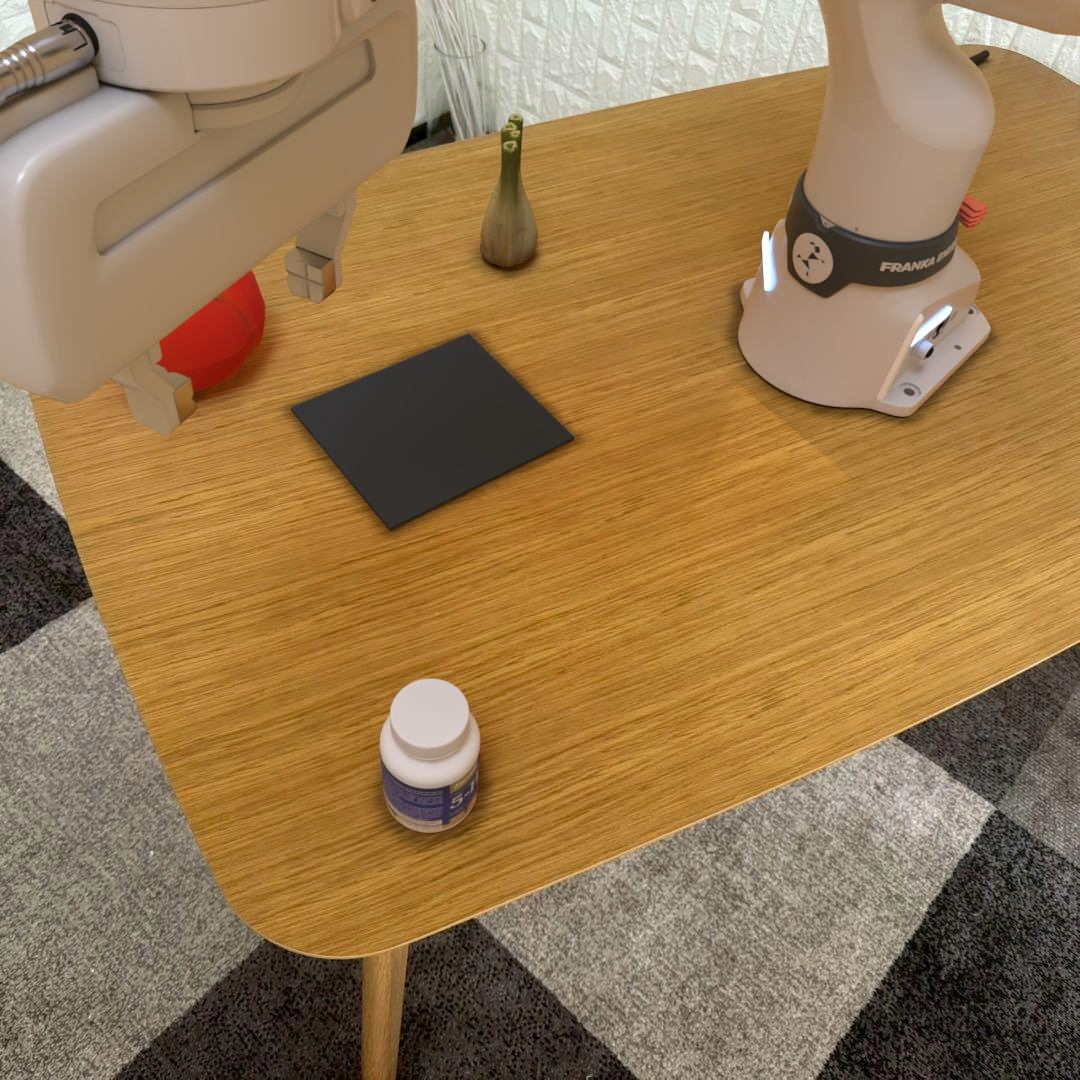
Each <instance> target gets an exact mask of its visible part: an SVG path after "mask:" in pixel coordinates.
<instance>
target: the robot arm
mask: <svg viewBox="0 0 1080 1080" xmlns="http://www.w3.org/2000/svg"><path fill="white" fill-rule="evenodd" d="M27 4H28V7H29V10H30V14H31V19H32V21H33V22H32V23H33V26H34V29H35V32H33V33H31V34H28V35H26V36H24V37H22V38H21V39H19V40H18V41H16V42H14V43H12V44H11V45H9V46H8V47H6V48H4V49H3V50H1V51H0V381H2V382H4V383H6V384H9V385H11V386H13V387H15V388H18V389H20V390H22V391H25V392H28V393H31V394H33V395H35V396H39V397H42V398H45V399H49V400H51V401H56V402H60V403H64V404H78V403H80V402H82V401H84V400H86V399H88V398H89V397H90V396H91V395H93V394H95V392H96V391H98V390H99V389H100V388H101V387H103V386H104V385H105V384H107V383H108V382H109V381H111V380H112V381H113V382H115V383H116V384H117V385H119V386H121V387H123V390H124V393H125V397H126V400H127V401H126V402H127V404H128V407H129V411H130V414H131V416H132V417H133V419H134V420H135V421H136V422H137V423H138V424H139V425H141V426H142V427H145V428H146V429H149V430H151V431H154V432H156V433H158V434H160V435H162V436H167V437H168V436H169V435H172V434H173V433H174V432H175V431H176V430H177V429H178V428H179V427H180V426H182V424H184V422H186V421H187V420H188V419H189V418H191V416H192V415H193V414H195V413H196V411H197V410H198V406H197V402H196V401H195V400H193V398H194V394H195V392H194V391H193V387H192V382H191V378H188V377H186V376H184V375H181V374H179V373H176V372H167V370H166V368H164V367H162V366H160V365H157V364H156V363H157V362H159V361H160V360H161V358H162V352H161V348H160V343H159V341H160V340H162V339H163V338H164V337H166V336H167V335H168V334H169V333H171V332H172V331H173V330H175V329H176V328H177V327H178V326H180V325H181V324H182V323H184V322H185V321H186V320H188V319H189V318H190V317H191V316H193V315H194V314H195V313H197V312H198V311H199V310H200V309H202V308H203V307H204V306H206V305H207V304H208V303H209V302H211V301H212V300H213V299H215V298H216V297H217V296H218V295H220V294H221V293H222V292H224V291H225V290H226V289H227V288H229V287H230V286H231V285H233V284H234V283H235V282H236V281H238V280H239V279H240V278H242V277H243V276H244V275H245V274H247V273H248V272H249V271H252V270H253V269H255V268H256V267H257V266H258V265H260V264H262V262H264V261H265V260H266V259H268V258H269V257H270V256H272V254H274V253H275V252H276V251H277V250H279V249H281V248H282V247H283V246H284V245H286V243H288V242H289V241H290V240H292V239H293V238H294V237H296V238H295V243H294V244H295V246H294V247H293V248H292V249H290V251H288V252H287V253H286V254H285V255H284V256H283V258H284V266H285V267H284V268H285V271H286V272H287V273H288V274H287V276H286V277H287V278H286V283H287V287H288V289H289V291H290V292H291V293H292V294H293V295H295V296H296V297H299V298H301V299H307V298H308V300H309V301H310V302H312V303H315V304H320V303H323V301H324V300H326V299H327V298H328V297H330V296H331V295H333V293H335V291H336V290H338V289H339V288H340V287H341V286H343V285H342V284H343V283H344V279H343V267H342V266H343V265H342V252H343V251H344V248H345V244H346V241H347V238H348V235H349V231H350V228H351V224H352V221H353V218H354V215H355V211H356V207H357V188H359V187H360V186H361V185H362V184H364V183H365V182H367V181H368V180H369V179H370V178H371V177H373V176H374V175H376V174H377V172H379V171H380V170H382V169H383V168H384V167H386V166H387V165H389V163H390V162H392V161H394V160H395V159H396V158H397V157H398V158H399V156H400V155H402V153H403V152H404V149H405V147H406V145H407V143H408V141H409V138H410V135H411V132H412V129H413V126H414V123H415V120H416V113H417V103H418V79H419V19H418V18H419V17H418V7H417V2H416V0H27ZM817 4H818V7H819V9H820V13H821V17H822V21H823V25H824V31H825V37H826V44H827V56H828V57H827V58H828V68H827V83H826V90H825V95H824V100H823V106H822V109H821V115H820V118H819V119H820V120H819V124H818V128H817V132H816V136H815V140H814V144H813V148H812V152H811V156H810V158H809V162H808V166H807V168H806V169H804V171H802V173H801V174H800V176H799V178H798V179H797V183H796V185H795V187H794V188H793V191H792V194H791V196H790V198H789V202H788V210H787V213H786V216H785V218H781V219H780V220H778V222H777V223H776V225H775V226H774V229H773V232H772V234H771V236H769V231H764V232H763V235H762V240H761V246H762V247H761V248H762V259H761V262H760V265H759V267H758V269H757V272H756V275H755V277H751V278H748V279H746V280H745V281H744V282H743V283H742V286H741V289H740V291H739V298H740V303H741V306H742V309H743V313H742V317H741V319H740V322H739V325H738V329H737V341H738V345H739V348H740V351H741V354H742V355H743V357H744V359H745V360H746V362H747V363H748V364H749V366H750V367H751V368H752V369H753V371H755V372H756V373H757V374H758V375H759V376H760V377H761V378H763V379H764V380H765V381H767V382H768V383H769V384H771V385H772V386H774V387H775V388H777V389H778V390H780V391H782V392H784V393H786V394H789V395H790V396H793V397H796V398H798V399H800V400H803V401H807V402H809V403H814V404H817V405H821V406H828V407H835V408H861V409H870V410H873V411H877V412H880V413H883V414H887V415H890V416H895V417H901V418H902V417H904V418H905V417H906V418H907V417H910V416H912V415H913V414H914V413H915V412H916V411H917V410H919V408H921V406H922V405H923V404H924V403H925V402H926V401H928V400H929V398H930V397H932V395H933V394H934V393H935V392H937V391H938V389H940V388H941V386H943V384H944V383H946V381H948V379H949V378H950V377H952V376H953V375H954V373H955V372H956V371H957V370H958V369H960V367H961V366H963V364H965V362H966V361H967V360H968V359H969V358H971V356H972V355H974V353H976V351H978V350H979V348H980V347H981V346H982V345H983V344H984V343H985V342H986V341H987V339H988V338H989V336H990V333H991V331H992V328H991V325H990V323H989V321H988V319H987V318H986V316H985V315H984V314H983V312H982V311H981V310H980V309H979V308H978V306H977V305H976V304H975V303H974V301H975V299H976V297H977V295H978V292H979V289H980V287H981V283H982V275H981V273H980V270H979V268H978V265H977V264H976V262H975V261H974V259H972V257H970V256H969V254H968V253H967V252H966V251H965V250H964V249H963V248H962V247H961V246H960V245H959V244H958V233H959V227H960V223H961V224H962V225H963V226H964V228H967V230H972V229H974V228H976V227H977V226H978V225H980V222H982V221H983V219H984V218H985V216H986V215H987V211H988V204H987V203H985V202H983V201H981V200H978V199H975V198H974V197H973V196H972V195H971V193H967V192H968V190H969V188H970V186H971V184H972V181H973V179H974V177H975V175H976V172H977V170H978V169H979V168H978V167H979V165H980V163H981V161H982V159H983V157H984V154H985V152H986V150H987V148H988V145H989V143H990V141H991V139H992V136H993V134H994V130H995V124H996V106H995V102H994V98H993V95H992V92H991V89H990V86H989V84H988V81H987V80H986V78H985V75H984V74H983V73H982V71H981V70H980V69H979V67H978V66H977V64H979V63H981V62H983V61H985V60H987V59H988V58H989V57H990V55H991V54H990V51H989V50H988V49H984V50H983V51H980V52H979V53H977V54H974V55H973V56H970V57H969V56H967V54H966V53H965V52H964V51H963V50H962V49H961V48H960V47H959V46H958V44H957V43H956V42H955V40H954V39H953V37H952V35H951V33H950V31H949V28H948V27H947V24H946V21H945V17H944V12H943V5H947V4H949V5H953V6H956V7H958V8H963V9H966V10H969V11H973V12H976V13H980V14H983V15H986V16H989V17H993V18H997V19H1001V20H1003V21H1007V22H1011V23H1013V24H1018V25H1022V26H1025V27H1027V28H1032V29H1035V30H1037V31H1041V32H1045V33H1048V34H1052V35H1062V36H1073V37H1080V0H817ZM769 237H770V238H769Z"/></svg>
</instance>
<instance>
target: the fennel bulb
mask: <svg viewBox="0 0 1080 1080" xmlns="http://www.w3.org/2000/svg"><path fill="white" fill-rule="evenodd" d="M507 119H508V120H507V123H505V124H504V125H503V126H502V128H501V129H500V150H501V151H500V153H501V155H500V157H501V158H500V159H501V160H500V163H501V164H500V173H499V176H498V179H497V182H496V185H495V187H494V188H493V192H492V194H491V196H490V199H489V201H488V205H487V207H486V211H485V213H484V217H483V221H482V224H481V228H480V237H479V238H480V244H479V251H480V253H481V255H482V257H483V259H485V260H486V261H487V262H489V263H490V264H492V265H497V266H498V267H502V268H512V267H515V266H518V265H520V264H522V263H525V262H527V261H528V260H529V259H530V258H532V257H533V255H534V253H535V250H536V248H537V245H538V237H539V236H538V228H537V223H536V219H535V216H534V213H533V209H532V207H531V203H530V200H529V198H528V195H527V193H526V190H525V187H524V183H523V180H522V171H521V169H522V168H521V161H522V144H523V143H522V142H523V131H524V129H523V128H524V116H522V114H520V113H512V114H511V115H510V116H509V117H508V118H507Z"/></svg>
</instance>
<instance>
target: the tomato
mask: <svg viewBox="0 0 1080 1080" xmlns="http://www.w3.org/2000/svg"><path fill="white" fill-rule="evenodd" d="M265 325H266V302H265V300H264V297H263V294H262V291H261V289H260V286H259V284H258V281H257V278H256V275H255V273H254V272H253V271H252V270H251V271H249V272H248V273H247V274H245V275H244V276H243V277H242V278H240V279H239V280H238V281H236V282H235V283H234V284H233V285H231V286H230V287H229V288H227V289H226V290H225V291H224V292H222V293H221V294H220V295H218V296H217V297H216V298H215V299H213V300H212V301H211V302H209V303H208V304H207V305H206V306H204V307H203V308H202V309H200V310H199V311H198V312H197V313H195V314H194V315H193V316H191V317H190V318H189V319H188V320H186V321H185V322H184V323H182V324H181V325H180V326H178V327H177V328H176V329H175V330H173V331H172V332H171V333H169V334H168V335H167V336H166V337H164V338H163V339H162V340H160V341H159V343H160V348H161V352H162V358H161V360H160V361H159V362H157V363H156V364H157V365H160V366H162V367H164V368H166V370H167V372H176V373H179V374H181V375H184V376H186V377H188V378H191V382H192V387H193V391H194V393H195V392H202V391H205V390H207V389H210V388H212V387H215V386H217V385H221V383H223V382H225V381H227V380H228V379H230V378H231V377H233V376H234V375H236V374H237V373H238V372H240V371H241V369H243V368H242V367H243V366H244V364H245V362H246V361H247V359H248V358H249V357H250V355H251V354H252V353H253V352H254V351H255V350H256V349H257V348H258V347H259V346H260V345H261V342H262V340H263V337H264V333H265Z"/></svg>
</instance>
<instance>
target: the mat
mask: <svg viewBox="0 0 1080 1080" xmlns="http://www.w3.org/2000/svg"><path fill="white" fill-rule="evenodd" d="M290 411H291V412H292V413H293V415H294V416H295V417H296V418H297V420H298V421H299V422H300V423H301V424H302V426H303V427H304V428H305V429H306V430H307V432H308V433H309V434H310V435H311V437H313V439H314V440H315V442H316V443H317V444H318V445H319V446H320V448H321V449H322V450H323V451H324V452H325V454H327V456H328V457H329V458H330V460H331V461H332V462H333V463H334V464H335V466H336V467H337V468H338V469H339V471H340V472H341V473H342V474H343V476H344V477H345V478H346V479H347V480H348V482H349V483H350V484H351V485H352V486H353V488H354V489H355V490H356V491H357V493H358V494H359V495H360V496H361V497H362V499H363V500H364V501H365V502H366V504H367V505H368V506H369V507H370V508H371V510H372V511H373V512H374V514H375V515H376V516H377V517H378V518H379V519H380V521H381V522H382V523H383V524H384V525H385V527H386V528H387V529H388V531H390V532H391V531H393V530H395V529H397V528H399V527H402V526H403V525H405V524H407V523H409V522H412V521H413V520H415V519H417V518H419V517H421V516H423V515H425V514H428V513H429V512H431V511H433V510H436V509H437V508H439V507H441V506H443V505H445V504H448V503H450V502H452V501H454V500H456V499H458V498H459V497H461V496H463V495H466V494H468V493H469V492H472V491H474V490H476V489H478V488H480V487H482V486H484V485H486V484H488V483H490V482H492V481H494V480H496V479H498V478H500V477H502V476H504V475H506V474H508V473H510V472H513V470H516V469H518V468H521V467H523V466H524V465H526V464H528V463H530V462H533V461H534V460H536V459H538V458H541V457H542V456H544V455H546V454H549V453H551V452H553V451H555V450H557V449H559V448H561V447H563V446H564V445H567V444H569V443H571V442H573V441H575V436H574V435H573V434H572V432H570V431H569V430H568V429H567V428H566V427H565V426H564V425H563V424H562V423H561V422H560V421H559V420H558V419H557V418H556V417H555V416H554V415H552V413H551V412H550V411H549V410H548V409H546V407H544V406H543V405H542V403H540V401H538V399H536V397H534V396H533V394H532V393H530V392H529V391H528V390H527V389H526V388H525V387H524V386H523V385H522V383H520V382H519V381H518V380H517V379H516V378H515V377H514V376H513V375H512V374H511V373H510V371H508V370H506V368H505V367H503V365H502V364H501V363H500V362H499V361H498V360H497V359H496V358H494V356H493V355H492V354H490V353H489V351H488V350H486V349H485V348H484V346H482V345H481V344H480V343H479V341H477V340H476V339H475V338H474V337H473V336H472V335H471V334H470V333H466V334H464V335H461V336H459V337H457V338H454V339H452V340H450V341H447V342H445V343H442V344H439V345H437V346H435V347H433V348H430V349H428V350H425V351H423V352H420V353H418V354H416V355H414V356H411V357H409V358H406V359H404V360H402V361H401V360H400V361H399V362H397V363H395V364H392V365H390V366H389V365H388V366H387V367H385V368H382V369H380V370H378V371H375V372H372V373H370V374H368V375H365V376H363V377H360V378H358V379H356V380H353V381H351V382H348V383H346V384H344V385H342V386H339V387H336V388H334V389H332V390H330V391H327V392H324V393H322V394H319V395H317V396H315V397H313V398H310V399H307V400H304V401H302V402H300V403H298V404H295V405H293V406H291V407H290Z"/></svg>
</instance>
